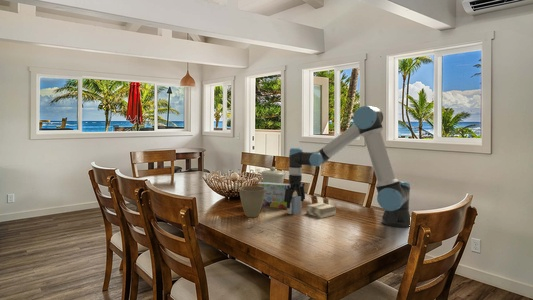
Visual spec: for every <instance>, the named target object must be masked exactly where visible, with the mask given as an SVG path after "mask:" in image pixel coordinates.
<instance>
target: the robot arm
mask: <svg viewBox="0 0 533 300" xmlns="http://www.w3.org/2000/svg"><path fill="white" fill-rule="evenodd" d="M352 121H353V124H352V125H351V126H350V127H348V128H347V129H346V130H345V131H343V132H342V133H341V134H339V135H338V136H336V137H335V138H334V139H332V140H331V141H329V142H328V143H327V144H326V145H324V146H323V147H322V148H320V149H319V150H317V151H312V152H307V151H306V152H305V151H303V148H301V147H291V148H290V149H289V152H288V153H289V155H288V157H289V160H288V161H289V163H288V174H289V175H288V181H289V183H288V184H289V185H285V188H286V189H285V197H284V202H287V208H286V209H287V210H286V213H287V214H289V215H292V214H291V209H292V203H290V202H291V199H292V196H293V195H294V193H295V192H296V196H300V197H301V213H302V210H303V202H304V201H305V200H306V191H305V185H306V184H305V183H304V182H302V180H303V178H302V177H303V176H302V174H303V172H302V171H303V166H310V167H320V166H321V165H322V164H325V163H327V162H328V161H329V159H331V158H332V157H333V156H335V155H336V154H338V153H339V152H340V151H342V150H343V149H345V148H346V147H347V146H349V145H351V144H352V143H353V142H355V141H356V140H357V139H359V138H360V137H361V136H362V137H363V138H364V141H365V145H366V148H367V151H368V156H369V158H370V161H371V164H372V168H373V171H374V174H375V177H376V181H377V183H376V185H375V188H376V192H377V196H376V201H377V204H378V205H379V207H380V208H382V209H383V210H384V212H383V213H382V217H381V223H382V224H384V225H386V226H388V227H393V226H394V227H396V228H408V227H407V226H409V225H410V217H411V213H410V195H411V193H410V191H411V184H410V182H407V181H401V180H399V179H398V178H396V176H395V173H394V170H393V167H392V164H391V160H390V157H389V155H388V150H387V148H386V145H385V141H384V138H383V135H382V131H383V129H384V128H383V124H382V123H383V122H384V114H383V112H382V110H381V109H380V108H378V107H376V106H371V105H362V106H360V107H358V108H357V109H356V110H355V111H354V113H353V116H352ZM411 218H412V217H411ZM394 227H393V228H394Z"/></svg>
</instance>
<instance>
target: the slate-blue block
mask: <svg viewBox="0 0 533 300" xmlns="http://www.w3.org/2000/svg"><path fill="white" fill-rule="evenodd" d="M290 203H292V209H291V214H290V215H299V214H301V213H302V212H301V197H300V196H298V195H297V194H295V195H294V194H293V196H292V199H291V202H290Z"/></svg>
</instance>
